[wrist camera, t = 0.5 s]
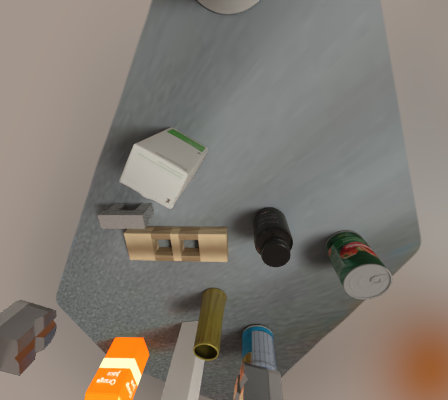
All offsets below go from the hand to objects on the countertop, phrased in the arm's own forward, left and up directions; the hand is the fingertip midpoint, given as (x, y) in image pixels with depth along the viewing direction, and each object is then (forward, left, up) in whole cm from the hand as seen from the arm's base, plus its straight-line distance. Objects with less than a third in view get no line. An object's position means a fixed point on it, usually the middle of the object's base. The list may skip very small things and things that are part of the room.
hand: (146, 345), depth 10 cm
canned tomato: (+22, +25, -39) cm, 51 cm away
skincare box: (+1, -8, -39) cm, 40 cm away
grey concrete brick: (+13, -20, -39) cm, 45 cm away
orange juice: (+59, -30, -39) cm, 76 cm away
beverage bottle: (+51, +7, -39) cm, 64 cm away
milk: (+50, -10, -39) cm, 64 cm away
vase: (+38, -4, -39) cm, 54 cm away
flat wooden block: (+21, -11, -39) cm, 45 cm away
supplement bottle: (+16, +9, -39) cm, 43 cm away
